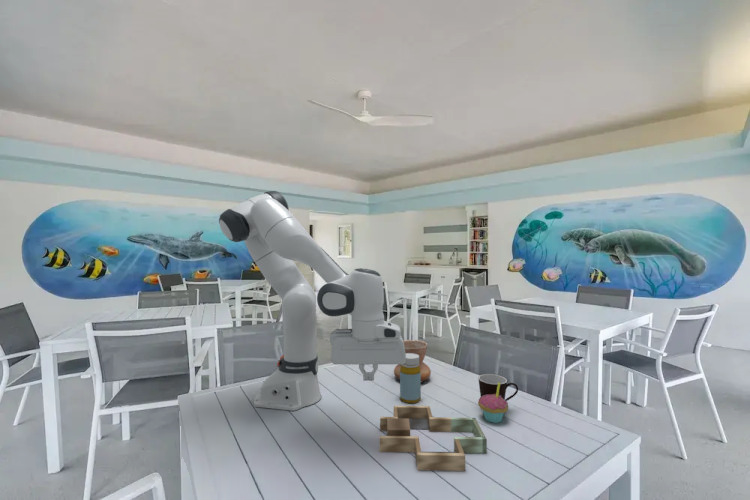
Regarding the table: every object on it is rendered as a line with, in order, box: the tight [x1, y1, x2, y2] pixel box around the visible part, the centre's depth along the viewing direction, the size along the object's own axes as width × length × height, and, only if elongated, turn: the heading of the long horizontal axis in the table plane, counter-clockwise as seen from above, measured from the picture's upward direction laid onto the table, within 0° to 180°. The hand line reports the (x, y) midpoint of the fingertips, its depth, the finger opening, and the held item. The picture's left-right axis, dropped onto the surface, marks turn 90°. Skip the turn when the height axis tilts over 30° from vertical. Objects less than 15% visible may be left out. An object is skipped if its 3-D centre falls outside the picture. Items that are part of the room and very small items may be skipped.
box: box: [378, 405, 488, 472], centre depth 92 cm, size 27×25×4 cm
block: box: [386, 418, 411, 436], centre depth 92 cm, size 6×6×4 cm
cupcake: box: [477, 381, 509, 424], centre depth 103 cm, size 9×8×12 cm
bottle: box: [399, 353, 422, 404], centre depth 117 cm, size 7×7×15 cm
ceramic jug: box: [393, 339, 432, 383], centre depth 135 cm, size 18×14×14 cm
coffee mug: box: [477, 373, 519, 402], centre depth 108 cm, size 12×9×10 cm
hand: (368, 379), depth 92 cm, fingers closed
